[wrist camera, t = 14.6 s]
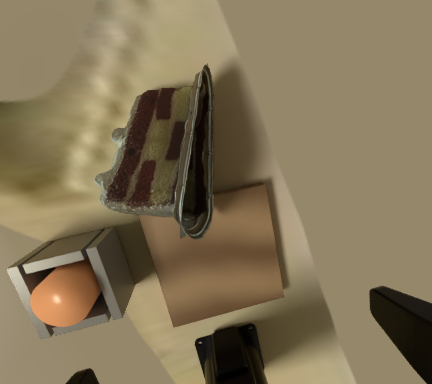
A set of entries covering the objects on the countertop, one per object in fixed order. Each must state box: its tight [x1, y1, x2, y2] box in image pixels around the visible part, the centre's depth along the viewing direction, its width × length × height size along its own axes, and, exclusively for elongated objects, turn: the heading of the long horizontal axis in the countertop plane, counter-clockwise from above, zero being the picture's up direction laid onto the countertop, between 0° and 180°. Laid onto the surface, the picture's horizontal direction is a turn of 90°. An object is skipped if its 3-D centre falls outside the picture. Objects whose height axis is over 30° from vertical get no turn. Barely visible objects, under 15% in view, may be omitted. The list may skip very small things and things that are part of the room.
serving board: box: [139, 182, 284, 327], centre depth 20 cm, size 12×11×1 cm
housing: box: [7, 226, 135, 340], centre depth 18 cm, size 6×6×4 cm
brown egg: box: [30, 256, 102, 327], centre depth 17 cm, size 4×4×4 cm
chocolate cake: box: [95, 63, 214, 240], centre depth 16 cm, size 10×7×12 cm
